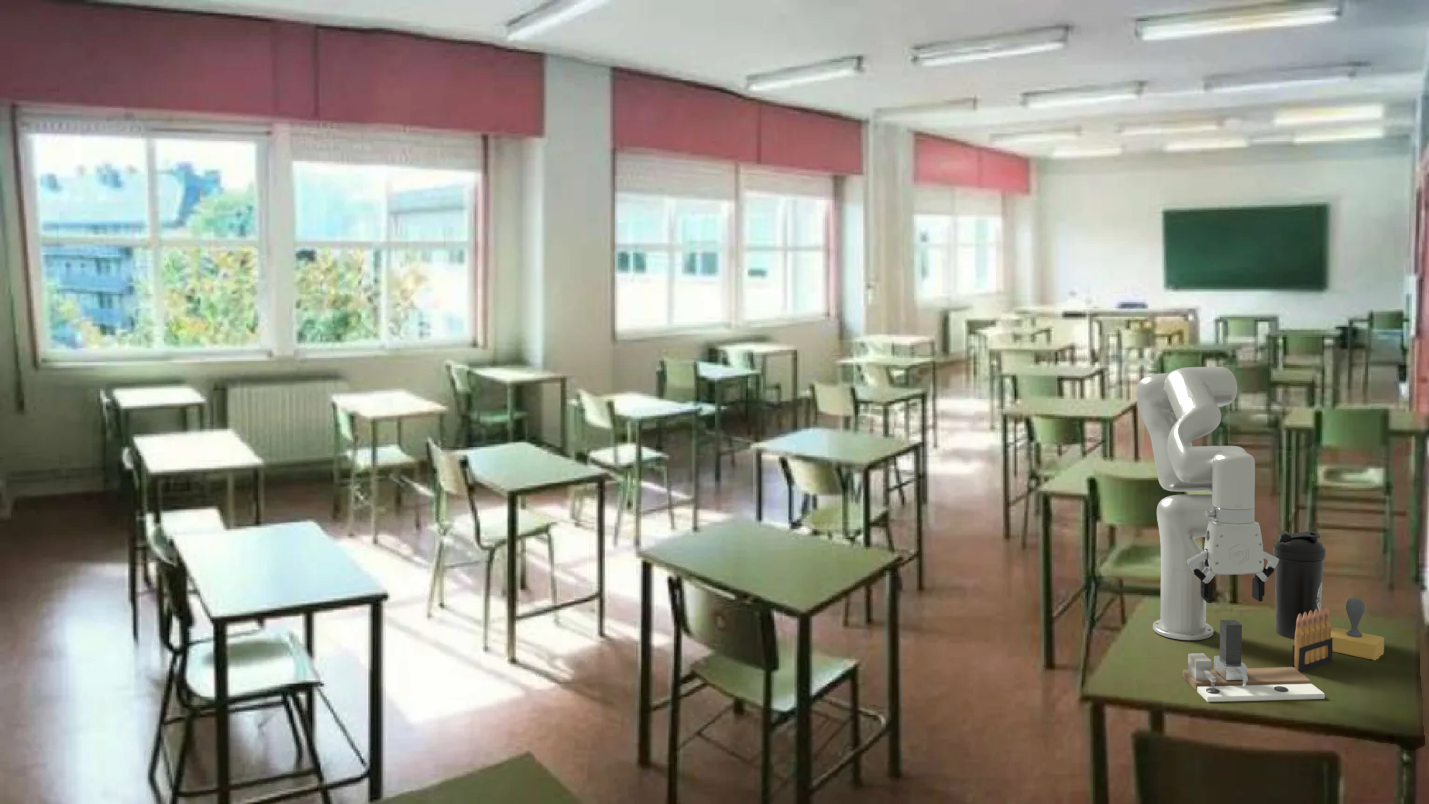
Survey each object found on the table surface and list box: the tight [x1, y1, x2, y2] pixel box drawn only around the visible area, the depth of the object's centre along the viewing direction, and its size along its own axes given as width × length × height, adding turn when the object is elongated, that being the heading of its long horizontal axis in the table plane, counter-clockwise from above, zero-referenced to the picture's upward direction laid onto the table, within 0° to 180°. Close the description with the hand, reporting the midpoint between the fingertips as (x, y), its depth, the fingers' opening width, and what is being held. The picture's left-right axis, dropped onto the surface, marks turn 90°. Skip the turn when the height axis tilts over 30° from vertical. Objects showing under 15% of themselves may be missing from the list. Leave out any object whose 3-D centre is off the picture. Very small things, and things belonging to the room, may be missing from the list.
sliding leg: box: [1213, 619, 1248, 687], centre depth 216 cm, size 10×4×11 cm, turn 178°
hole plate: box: [1196, 683, 1326, 703], centre depth 212 cm, size 5×22×1 cm, turn 88°
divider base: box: [1182, 652, 1311, 692], centre depth 217 cm, size 10×22×6 cm, turn 88°
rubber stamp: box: [1331, 596, 1385, 661], centre depth 232 cm, size 10×6×12 cm, turn 43°
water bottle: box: [1272, 530, 1327, 640], centre depth 243 cm, size 10×10×23 cm
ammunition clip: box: [1291, 605, 1334, 673], centre depth 225 cm, size 11×2×12 cm, turn 117°
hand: (1232, 600), depth 216 cm, fingers open, 9 cm apart
